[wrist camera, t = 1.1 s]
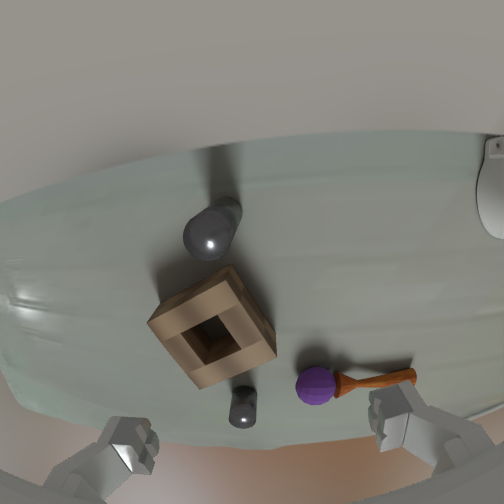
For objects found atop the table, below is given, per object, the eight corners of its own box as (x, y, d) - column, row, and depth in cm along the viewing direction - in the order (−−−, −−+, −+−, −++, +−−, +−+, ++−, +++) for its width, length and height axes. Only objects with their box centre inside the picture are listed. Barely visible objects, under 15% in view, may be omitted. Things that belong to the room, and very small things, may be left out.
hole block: (230, 263, 41) (225, 280, 35) (275, 333, 43) (276, 357, 38) (160, 303, 43) (146, 322, 37) (206, 365, 45) (199, 389, 40)
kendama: (410, 401, 42) (295, 413, 41) (399, 376, 48) (290, 384, 46) (425, 378, 40) (302, 389, 38) (411, 353, 45) (297, 358, 44)
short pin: (248, 382, 46) (246, 407, 40) (261, 398, 47) (260, 423, 41) (227, 390, 47) (223, 416, 41) (240, 406, 47) (238, 431, 42)
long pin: (231, 191, 38) (214, 204, 25) (248, 218, 39) (239, 246, 26) (204, 207, 39) (174, 229, 25) (221, 234, 40) (199, 269, 26)
